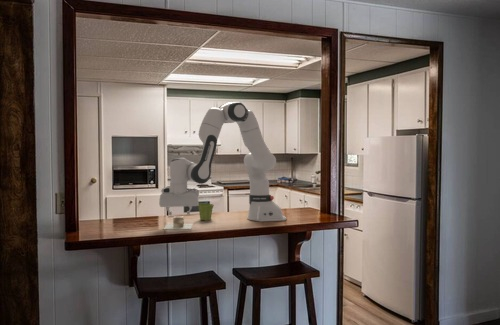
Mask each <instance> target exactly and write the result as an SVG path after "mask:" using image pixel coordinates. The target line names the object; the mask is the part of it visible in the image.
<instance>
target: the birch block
mask: <svg viewBox="0 0 500 325" xmlns="http://www.w3.org/2000/svg"><path fill="white" fill-rule="evenodd" d="M172 220H173V221H172V224H173V227H183V226H184V224H185V216H184V215H175V216H173V218H172Z"/></svg>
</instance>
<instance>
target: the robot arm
mask: <svg viewBox="0 0 500 325" xmlns="http://www.w3.org/2000/svg"><path fill="white" fill-rule="evenodd" d="M232 123H236V124H237V125H238V128H239V132H240V135H241V138H242V141H243V144H244V146H245V147H246V148H247V149H248V153H246V154H245V156H244V158H243V165H244V166H245V167H246V168H245V169H246V170H247V174H248V179H249V196H248V203H249V209H248V215H247V218H246V219H247V220H250V221H256V222H278V221H280V222H281V221H286V220H287V217H286V215H283V210H282V208H281V207H280V205H278V204H277V203H275V202H274V201H273V200H274V199H275V197H274V195H272V194H270V181H269V179H268V176H267V175H266V172H268V171H270V170H273V169H274V168H275V167H276V165H277V159H276V156H275V155H274V154H273V153H272V152H271V151H270V150H269V147H268V146H267V144H266V143H265V140H264V138H263V134H262V132H261V129H260V125H259V121H258V119H257V117H256V116H255V113H254V112H253V110H250V109H247V107H246V106H245V105H244V104H243V103H242V102H239V101H233V102H232V101H231V102H227V103H225V104H221V105H220V106H219V107H210V108H208V110H207V112H206V113H205V115H204V117H203V119H202V121H201V124H200V126H199V130H198V137H199V139H200V141H201V142H202V145H203V146H202V151H201V155H200V157H199V161H198V162H197V163H195V162H193V161H190V160H188V159H187V158H185V157H184V156H183V157H175V158H173V159H172V160H171V161H170V164H169V177H170V182H169V186H168V185H167V186H166V187H163V188H161V191H160V192H161V194H160V195H159V207H161V208H166V211H167V212H168V216H172V215H173V212H172V211H171V210H170V208H174V207H175V208H176V207H178V208H179V207H181V208H182V207H188V209H189V210H188V211H186V215H187V216H190V215H191V211H192V209H193V207H198V204H200V202H199V196H200V192H199V189H197V188H196V187H195V188H188V181H190V182H195V183H196V184H199V185H202V184H206V183H207V182H208V181H210V178H211V176H212V163H213V159H214V156H215V153H216V152H215V151H216V149H217V143H218V139H219V137H220V133H221V131H222V128H223V125H224V124H232Z"/></svg>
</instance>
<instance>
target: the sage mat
mask: <svg viewBox="0 0 500 325" xmlns="http://www.w3.org/2000/svg"><path fill="white" fill-rule="evenodd" d="M193 226H194V224H193V223H184V226H183V227H173V223H167V224H166V225H165V226H164V227H163V230H192V228H193Z"/></svg>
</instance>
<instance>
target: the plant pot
mask: <svg viewBox="0 0 500 325" xmlns="http://www.w3.org/2000/svg"><path fill="white" fill-rule="evenodd" d="M214 206H215V205H214V204H213V203H199V204H198V206H197V207H198V212H199V220H200V221H211V220H212V215H213V208H214Z"/></svg>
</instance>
